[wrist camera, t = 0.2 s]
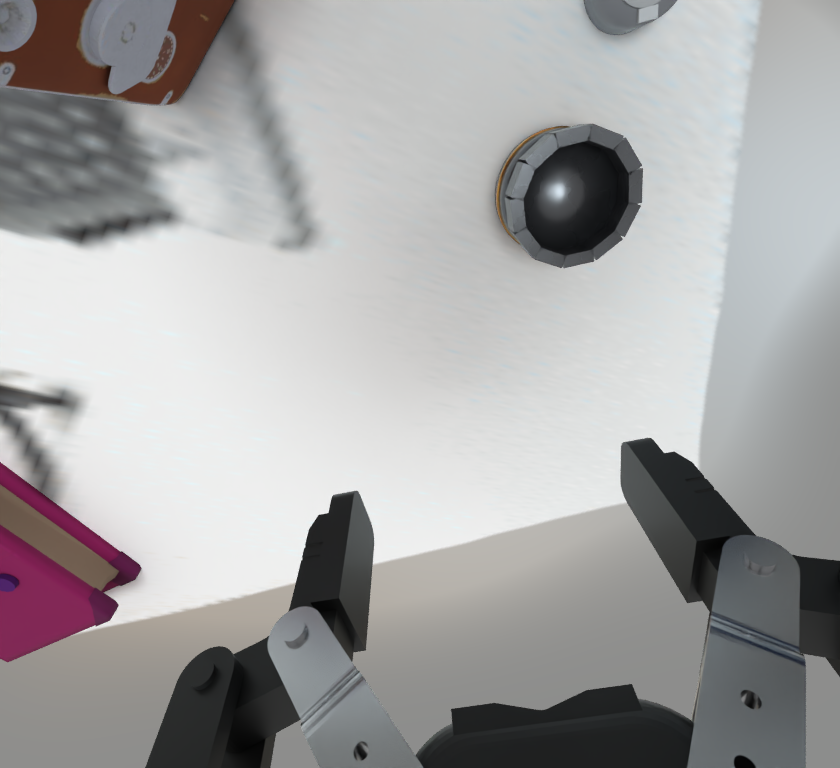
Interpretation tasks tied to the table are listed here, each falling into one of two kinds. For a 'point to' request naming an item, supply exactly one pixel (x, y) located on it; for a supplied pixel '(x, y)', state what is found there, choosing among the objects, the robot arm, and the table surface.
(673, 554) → the robot arm
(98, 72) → the cine camera
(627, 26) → the lens cap
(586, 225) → the lens barrel
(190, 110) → the table surface
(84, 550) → the book
